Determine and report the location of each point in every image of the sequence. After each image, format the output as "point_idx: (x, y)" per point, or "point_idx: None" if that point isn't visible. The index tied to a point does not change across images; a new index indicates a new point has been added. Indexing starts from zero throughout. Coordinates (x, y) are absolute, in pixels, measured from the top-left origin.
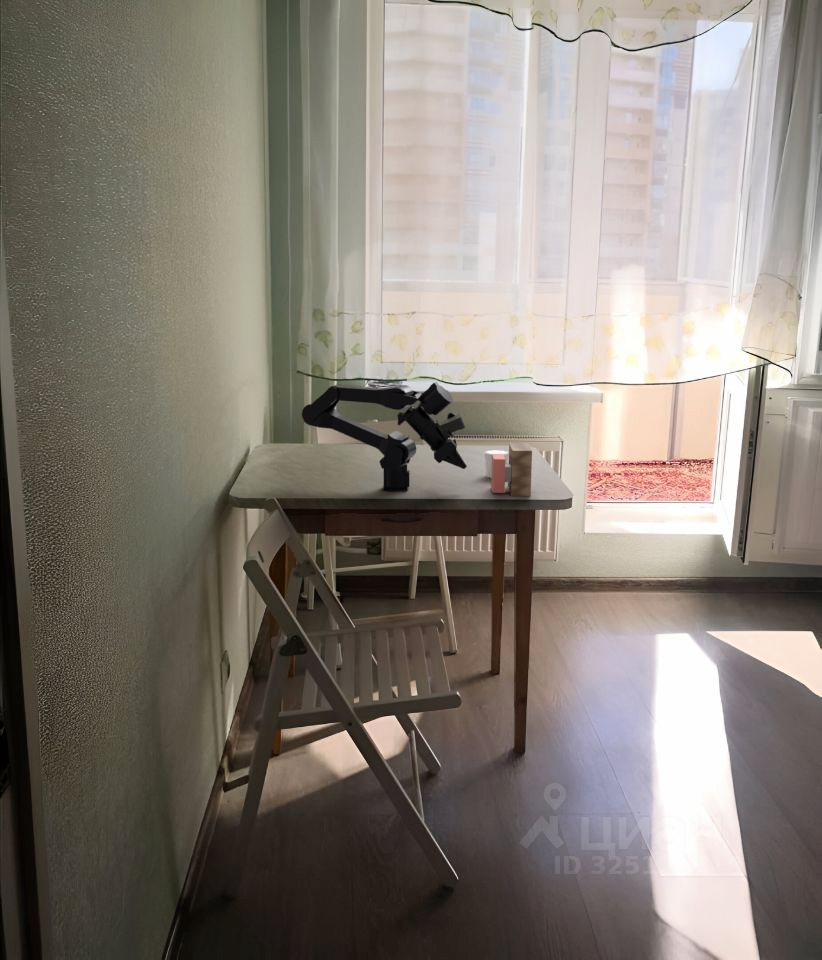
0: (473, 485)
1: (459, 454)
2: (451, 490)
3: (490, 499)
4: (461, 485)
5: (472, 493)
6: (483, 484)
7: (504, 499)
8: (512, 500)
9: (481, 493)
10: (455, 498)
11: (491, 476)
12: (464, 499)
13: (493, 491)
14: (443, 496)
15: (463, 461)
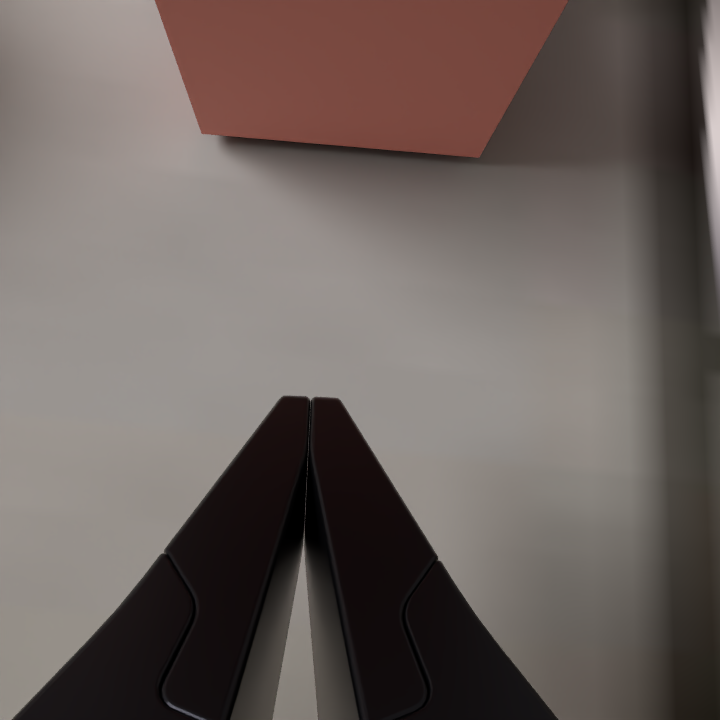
0: (82, 312)
1: (197, 568)
2: None
3: (660, 217)
4: (69, 447)
5: (430, 363)
6: (46, 199)
7: (655, 91)
8: (687, 28)
9: (432, 272)
10: (632, 564)
11: (181, 70)
12: (668, 472)
13: (483, 147)
14: (554, 694)
15: (372, 464)
